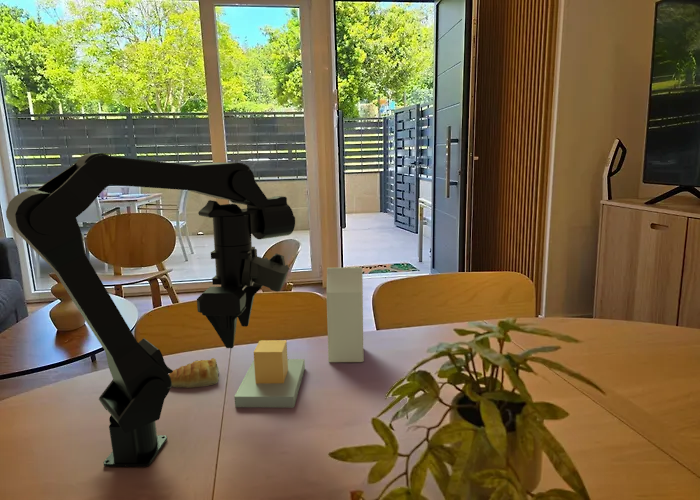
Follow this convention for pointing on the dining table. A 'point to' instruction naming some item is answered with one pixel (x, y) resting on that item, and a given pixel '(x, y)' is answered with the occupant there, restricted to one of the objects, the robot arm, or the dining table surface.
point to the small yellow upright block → (271, 361)
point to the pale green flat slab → (271, 388)
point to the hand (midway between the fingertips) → (237, 336)
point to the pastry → (196, 374)
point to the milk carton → (345, 314)
